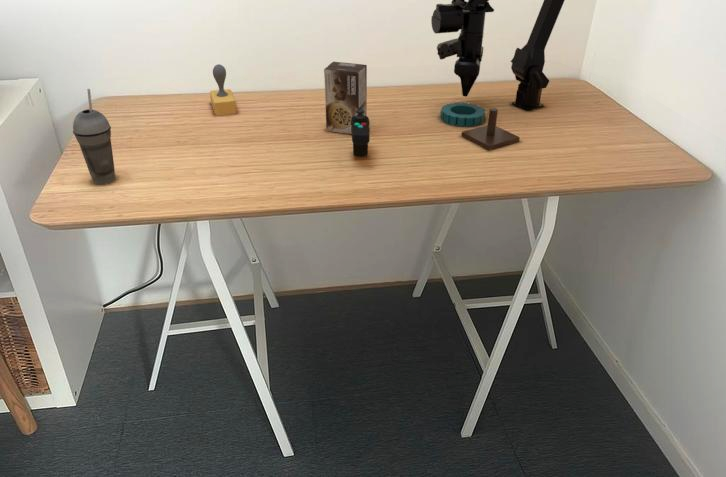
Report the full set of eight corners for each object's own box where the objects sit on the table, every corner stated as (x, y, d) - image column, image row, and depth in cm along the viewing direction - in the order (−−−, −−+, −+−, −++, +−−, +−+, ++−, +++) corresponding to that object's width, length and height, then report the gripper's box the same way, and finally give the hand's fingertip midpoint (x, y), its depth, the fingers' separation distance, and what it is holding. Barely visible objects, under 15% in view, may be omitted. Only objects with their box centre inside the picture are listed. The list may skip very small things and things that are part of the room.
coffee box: (367, 126, 159) (368, 64, 150) (359, 136, 153) (359, 72, 145) (334, 122, 161) (333, 60, 152) (325, 131, 156) (323, 67, 147)
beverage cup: (91, 172, 135) (69, 83, 124) (125, 171, 136) (106, 82, 125) (81, 188, 129) (57, 95, 118) (117, 187, 130) (96, 95, 119)
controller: (368, 146, 148) (369, 106, 143) (370, 168, 138) (370, 126, 133) (350, 146, 148) (350, 106, 143) (351, 168, 138) (350, 126, 133)
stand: (491, 128, 159) (494, 99, 154) (519, 141, 151) (523, 111, 147) (461, 136, 154) (464, 106, 150) (488, 150, 147) (492, 119, 143)
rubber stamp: (211, 103, 172) (205, 60, 166) (232, 101, 174) (227, 58, 167) (215, 115, 164) (209, 71, 158) (237, 113, 166) (232, 69, 159)
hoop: (464, 108, 171) (465, 99, 169) (493, 121, 163) (494, 112, 161) (432, 115, 165) (432, 107, 164) (459, 130, 157) (460, 121, 156)
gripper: (444, 20, 165) (439, 77, 174) (436, 38, 150) (431, 99, 158) (486, 22, 163) (479, 80, 172) (482, 40, 148) (475, 103, 156)
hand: (466, 90), depth 164 cm, fingers open, 9 cm apart
